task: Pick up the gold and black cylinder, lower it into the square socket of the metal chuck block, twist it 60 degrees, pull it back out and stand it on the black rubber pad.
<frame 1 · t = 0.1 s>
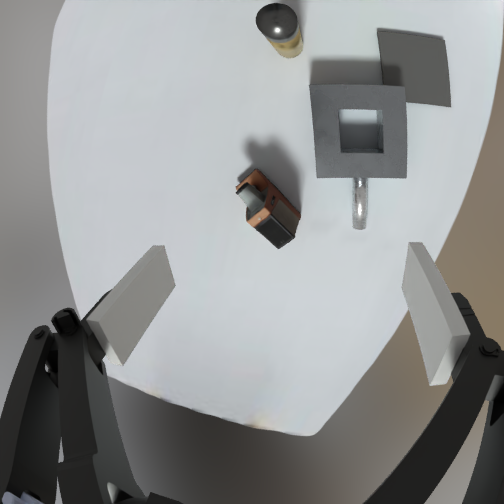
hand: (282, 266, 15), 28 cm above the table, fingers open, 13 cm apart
gold and black cylinder: (289, 45, 32), on the table
chuck block: (357, 128, 35), on the table
pad: (415, 68, 29), on the table
electronic device: (269, 199, 43), on the table
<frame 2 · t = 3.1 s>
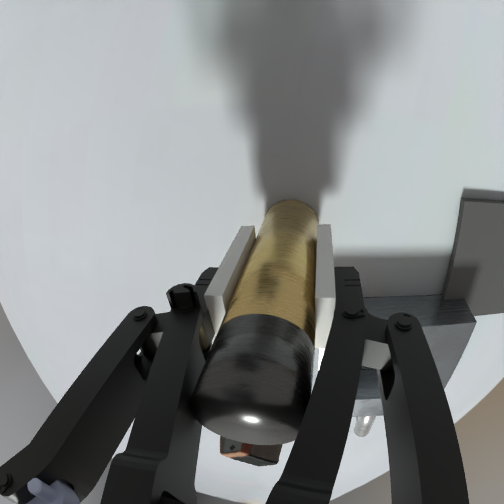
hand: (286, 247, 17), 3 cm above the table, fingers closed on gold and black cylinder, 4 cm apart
gold and black cylinder: (291, 225, 20), on the table, touching gripper
chuck block: (384, 349, 24), on the table
pad: (498, 261, 17), on the table
electronic device: (251, 399, 31), on the table
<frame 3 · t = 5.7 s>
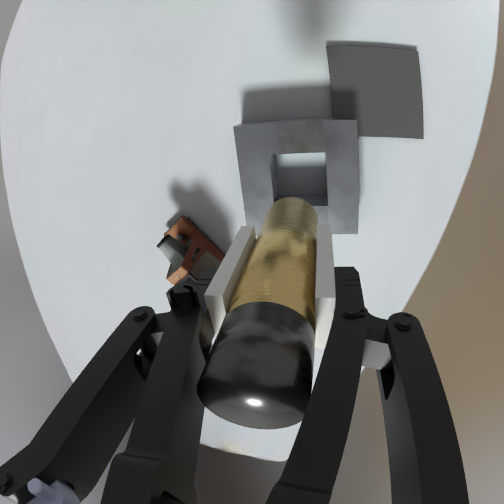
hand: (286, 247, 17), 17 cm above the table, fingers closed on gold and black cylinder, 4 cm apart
gold and black cylinder: (292, 221, 20), point 14 cm above the table, touching gripper
chuck block: (300, 172, 32), on the table
pad: (377, 91, 26), on the table
electronic device: (201, 246, 40), on the table
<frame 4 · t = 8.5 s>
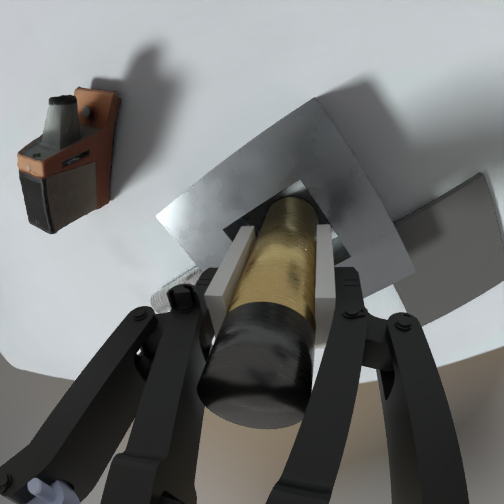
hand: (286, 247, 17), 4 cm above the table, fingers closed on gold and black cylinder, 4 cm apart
gold and black cylinder: (292, 221, 20), resting in chuck block, touching gripper
chuck block: (291, 219, 21), on the table
pad: (448, 257, 19), on the table
electronic device: (98, 143, 21), on the table
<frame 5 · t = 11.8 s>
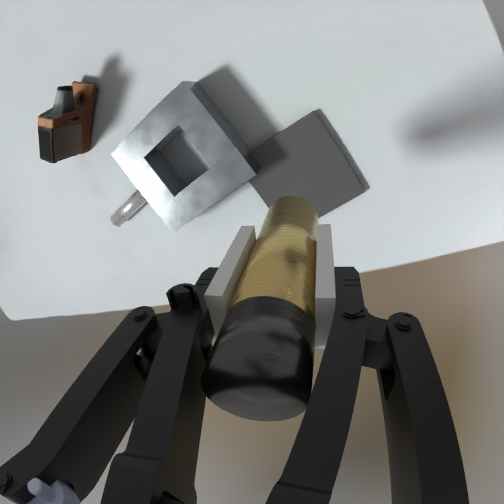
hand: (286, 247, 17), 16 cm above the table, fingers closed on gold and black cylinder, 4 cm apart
gold and black cylinder: (292, 220, 21), point 12 cm above the table, touching gripper
chuck block: (188, 154, 32), on the table
pad: (301, 174, 31), on the table
electronic device: (85, 115, 32), on the table
when the fingers open (5 cm above the table, at t = 13.9 s): gold and black cylinder stays where it is, resting on pad.
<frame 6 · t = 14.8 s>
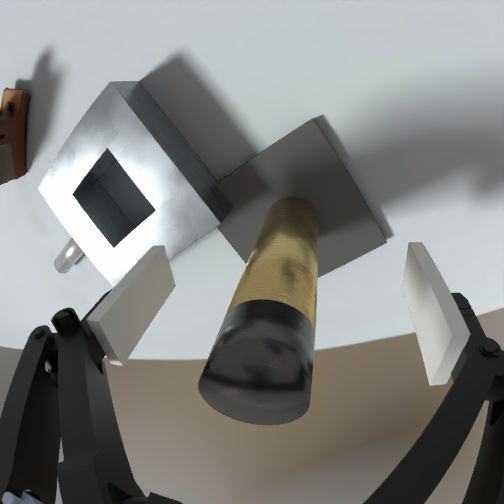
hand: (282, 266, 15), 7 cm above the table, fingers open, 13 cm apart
gold and black cylinder: (292, 221, 21), point 1 cm above the table, touching pad
chuck block: (134, 186, 22), on the table
pad: (292, 216, 21), on the table
electronic device: (19, 129, 22), on the table
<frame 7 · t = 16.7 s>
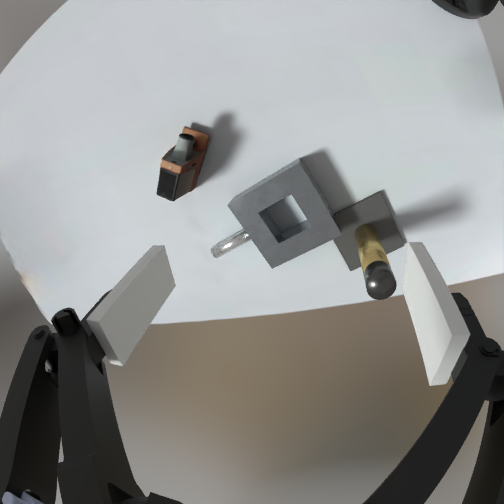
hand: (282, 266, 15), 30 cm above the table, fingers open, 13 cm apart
gold and black cylinder: (365, 234, 44), point 1 cm above the table, touching pad
chuck block: (286, 210, 45), on the table
pad: (365, 232, 44), on the table
electronic device: (191, 157, 44), on the table
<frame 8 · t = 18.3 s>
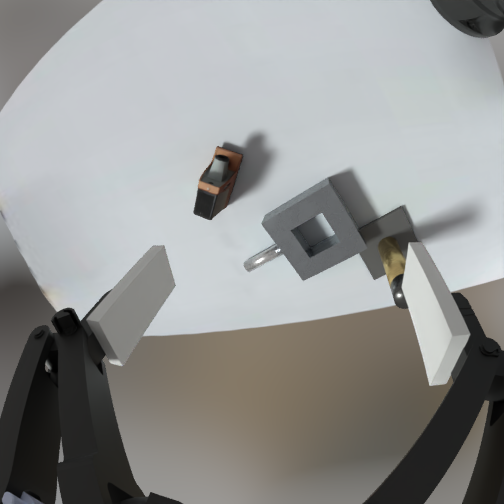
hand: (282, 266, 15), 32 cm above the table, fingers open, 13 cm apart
gold and black cylinder: (387, 246, 46), point 1 cm above the table, touching pad
chuck block: (315, 226, 48), on the table
pad: (387, 244, 46), on the table
electronic device: (223, 175, 47), on the table
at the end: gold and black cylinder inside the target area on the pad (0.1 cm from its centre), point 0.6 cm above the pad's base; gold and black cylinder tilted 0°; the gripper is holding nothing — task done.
